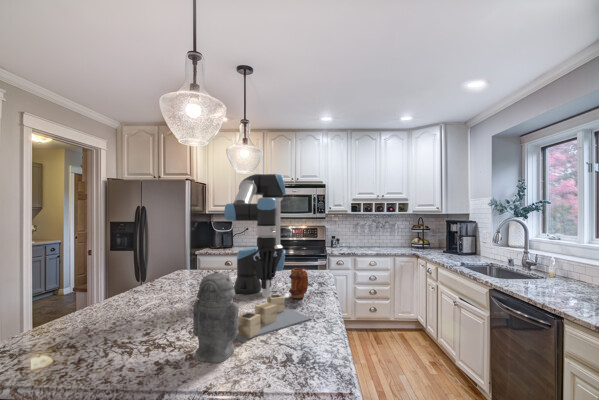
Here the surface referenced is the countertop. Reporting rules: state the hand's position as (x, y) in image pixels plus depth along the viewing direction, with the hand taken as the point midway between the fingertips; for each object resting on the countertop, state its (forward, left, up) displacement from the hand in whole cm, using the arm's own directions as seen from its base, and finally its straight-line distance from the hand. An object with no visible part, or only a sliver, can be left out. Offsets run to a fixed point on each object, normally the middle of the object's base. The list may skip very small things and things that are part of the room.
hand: (266, 296), depth 114 cm
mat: (-1, 0, -10) cm, 10 cm away
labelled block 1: (+6, -11, -10) cm, 16 cm away
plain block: (0, 0, -10) cm, 10 cm away
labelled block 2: (-8, +10, -10) cm, 16 cm away
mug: (-16, +30, -10) cm, 36 cm away
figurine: (+12, -26, -10) cm, 30 cm away
